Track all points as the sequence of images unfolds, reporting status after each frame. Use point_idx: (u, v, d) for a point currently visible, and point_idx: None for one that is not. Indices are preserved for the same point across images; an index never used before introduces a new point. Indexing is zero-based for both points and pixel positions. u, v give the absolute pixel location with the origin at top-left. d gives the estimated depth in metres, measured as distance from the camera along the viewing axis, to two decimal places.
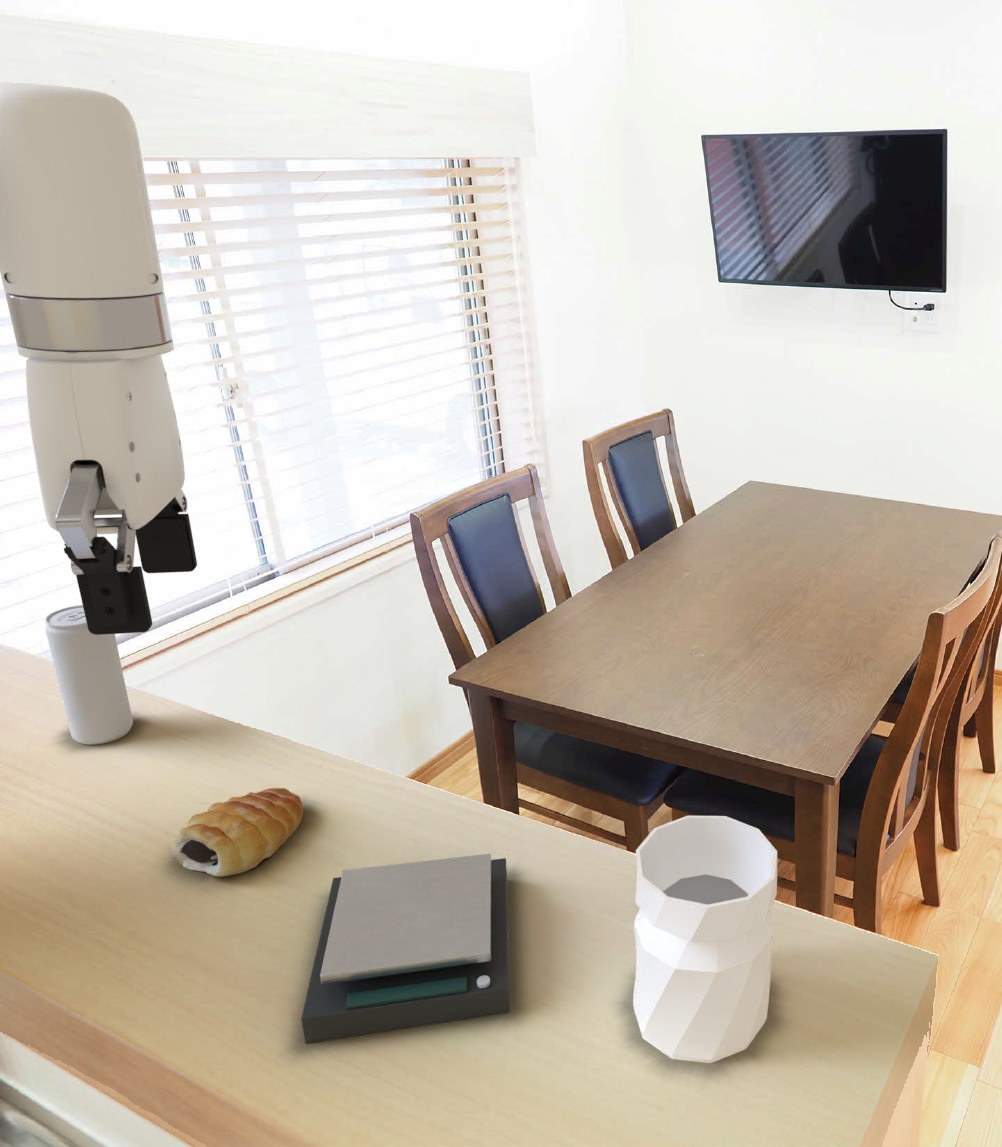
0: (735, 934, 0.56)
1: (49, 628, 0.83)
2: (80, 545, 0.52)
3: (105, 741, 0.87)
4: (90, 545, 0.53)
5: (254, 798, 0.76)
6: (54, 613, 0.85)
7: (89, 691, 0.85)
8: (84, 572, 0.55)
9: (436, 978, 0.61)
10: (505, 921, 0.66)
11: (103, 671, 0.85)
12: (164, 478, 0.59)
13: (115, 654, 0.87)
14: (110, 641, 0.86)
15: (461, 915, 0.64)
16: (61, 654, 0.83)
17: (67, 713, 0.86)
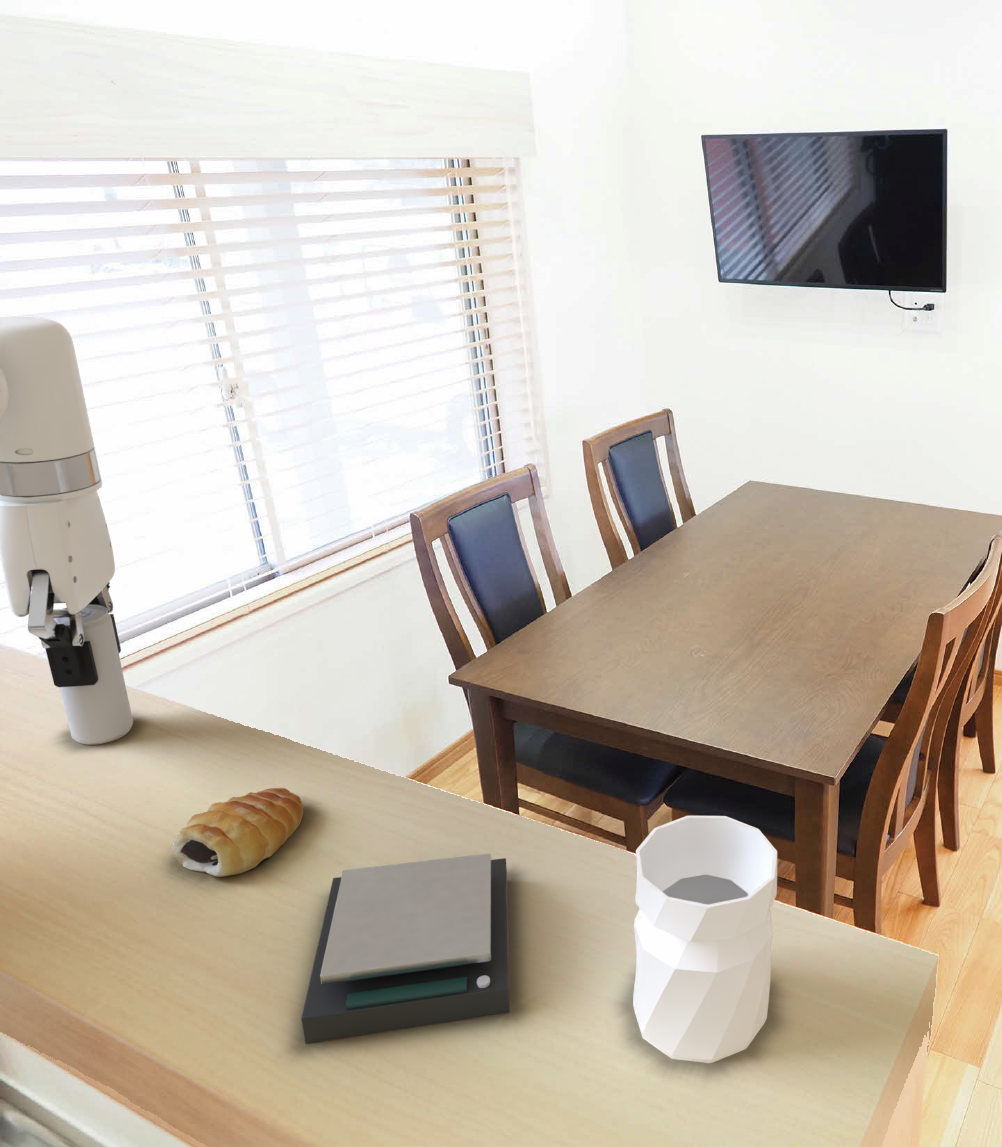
0: (735, 934, 0.56)
1: None
2: (47, 636, 0.79)
3: (105, 741, 0.87)
4: (54, 635, 0.79)
5: (254, 798, 0.76)
6: None
7: (89, 691, 0.85)
8: (50, 646, 0.81)
9: (436, 978, 0.61)
10: (505, 921, 0.66)
11: (103, 671, 0.85)
12: (96, 575, 0.84)
13: (115, 654, 0.87)
14: (110, 641, 0.86)
15: (461, 915, 0.64)
16: None
17: (67, 713, 0.86)
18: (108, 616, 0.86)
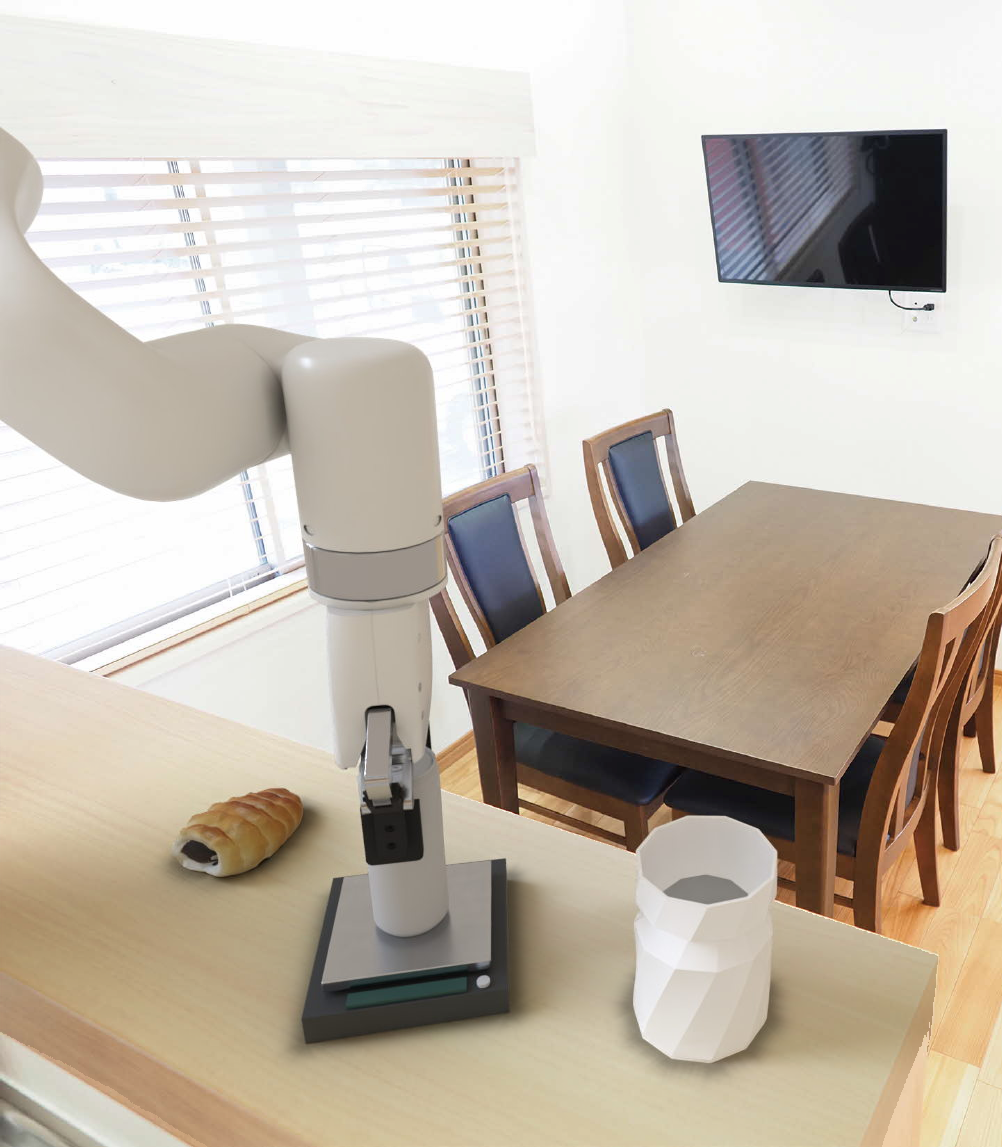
0: (735, 934, 0.56)
1: None
2: (381, 797, 0.52)
3: (423, 931, 0.63)
4: (390, 796, 0.53)
5: (254, 798, 0.76)
6: None
7: (412, 868, 0.61)
8: (373, 813, 0.55)
9: (436, 978, 0.61)
10: (505, 921, 0.66)
11: (430, 840, 0.61)
12: (430, 700, 0.59)
13: (441, 813, 0.62)
14: (438, 797, 0.61)
15: (461, 922, 0.65)
16: None
17: (377, 896, 0.62)
18: (435, 761, 0.62)
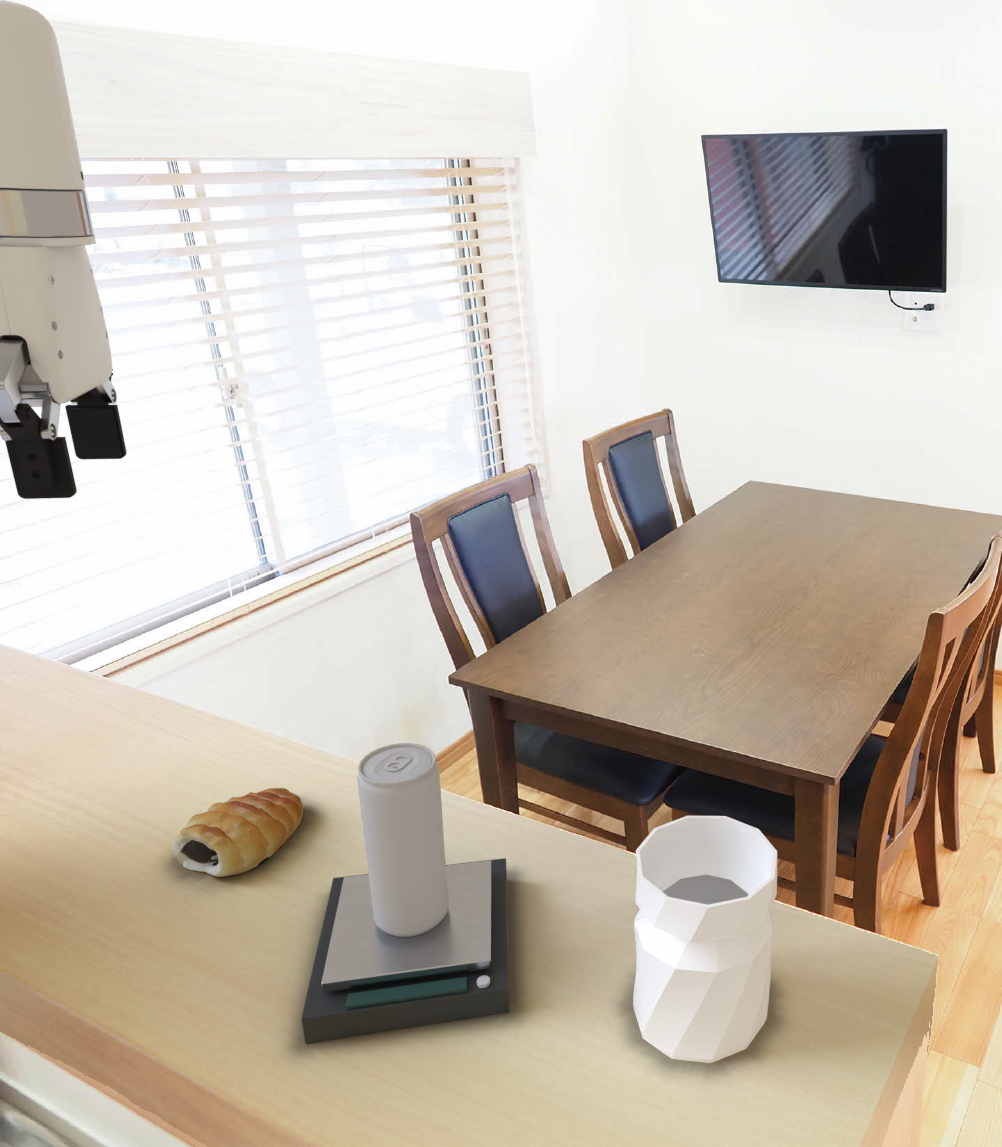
0: (735, 934, 0.56)
1: (367, 785, 0.59)
2: (5, 408, 0.59)
3: (423, 931, 0.63)
4: (14, 409, 0.59)
5: (254, 798, 0.76)
6: (364, 759, 0.61)
7: (412, 868, 0.61)
8: (12, 437, 0.61)
9: (436, 978, 0.61)
10: (505, 921, 0.66)
11: (430, 840, 0.61)
12: (88, 362, 0.66)
13: (441, 813, 0.62)
14: (438, 797, 0.61)
15: (461, 922, 0.65)
16: (381, 820, 0.59)
17: (377, 896, 0.62)
18: (435, 761, 0.62)
